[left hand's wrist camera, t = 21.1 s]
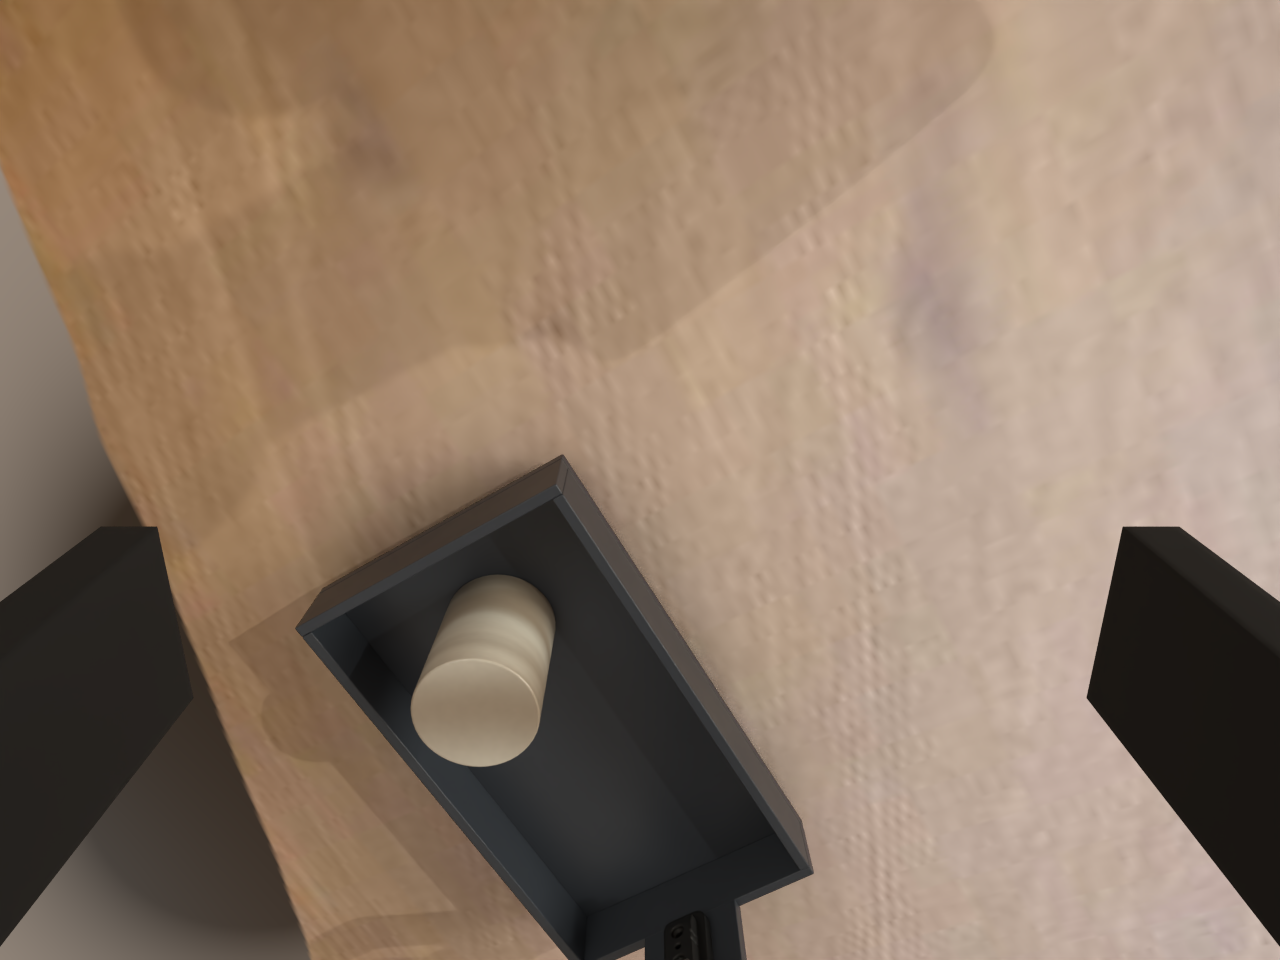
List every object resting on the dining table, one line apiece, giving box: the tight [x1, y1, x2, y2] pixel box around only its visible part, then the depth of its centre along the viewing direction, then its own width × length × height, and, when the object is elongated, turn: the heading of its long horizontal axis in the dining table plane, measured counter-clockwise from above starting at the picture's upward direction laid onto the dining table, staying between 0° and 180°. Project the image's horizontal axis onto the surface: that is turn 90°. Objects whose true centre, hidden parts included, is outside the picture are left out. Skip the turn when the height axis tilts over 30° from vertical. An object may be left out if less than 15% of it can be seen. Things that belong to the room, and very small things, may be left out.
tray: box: [295, 455, 814, 960], centre depth 40 cm, size 23×13×9 cm, turn 30°
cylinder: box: [411, 575, 556, 767], centre depth 38 cm, size 5×5×7 cm
